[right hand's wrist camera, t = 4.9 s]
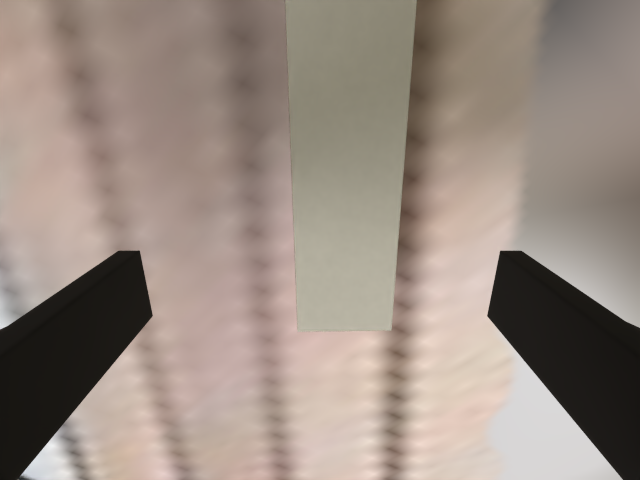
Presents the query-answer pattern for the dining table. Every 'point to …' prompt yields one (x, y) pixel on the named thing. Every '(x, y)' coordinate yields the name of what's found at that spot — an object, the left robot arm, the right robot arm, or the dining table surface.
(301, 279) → the post
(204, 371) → the dining table surface
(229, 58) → the dining table surface
